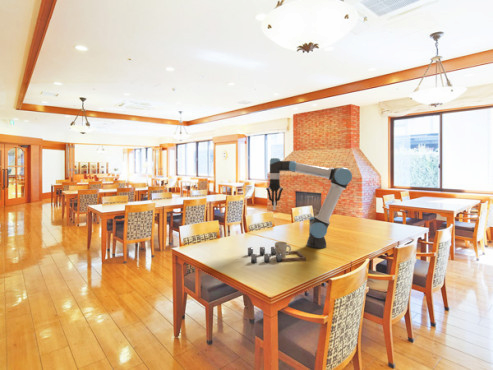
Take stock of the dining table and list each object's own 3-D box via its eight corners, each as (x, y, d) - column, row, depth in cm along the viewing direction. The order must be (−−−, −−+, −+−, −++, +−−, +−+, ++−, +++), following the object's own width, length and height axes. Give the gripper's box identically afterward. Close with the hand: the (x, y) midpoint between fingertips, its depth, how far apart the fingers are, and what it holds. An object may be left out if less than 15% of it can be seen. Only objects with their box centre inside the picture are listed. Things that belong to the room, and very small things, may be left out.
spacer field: (275, 253, 197) (275, 246, 196) (282, 262, 178) (282, 254, 178) (247, 254, 194) (247, 247, 193) (251, 263, 175) (251, 255, 175)
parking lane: (298, 253, 198) (298, 250, 197) (305, 260, 182) (306, 257, 182) (275, 254, 195) (276, 251, 195) (281, 261, 180) (281, 258, 180)
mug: (272, 256, 189) (272, 242, 188) (286, 254, 195) (286, 240, 194) (279, 260, 182) (279, 245, 181) (294, 257, 188) (294, 243, 187)
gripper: (281, 178, 211) (281, 209, 213) (265, 178, 210) (264, 209, 211) (284, 179, 204) (284, 210, 205) (267, 179, 202) (266, 210, 204)
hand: (274, 209), depth 208 cm, fingers closed
